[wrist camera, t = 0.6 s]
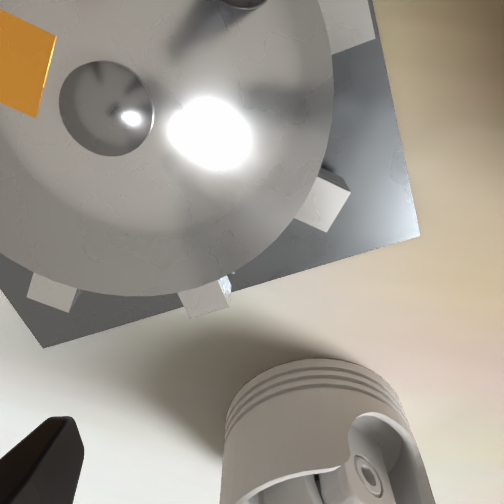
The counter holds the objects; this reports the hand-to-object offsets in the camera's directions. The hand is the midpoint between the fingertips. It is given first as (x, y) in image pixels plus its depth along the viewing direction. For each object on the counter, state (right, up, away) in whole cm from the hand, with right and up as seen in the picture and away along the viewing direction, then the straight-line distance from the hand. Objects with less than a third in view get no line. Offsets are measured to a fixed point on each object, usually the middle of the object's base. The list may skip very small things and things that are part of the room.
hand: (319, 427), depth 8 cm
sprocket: (-6, +9, +9) cm, 14 cm away
